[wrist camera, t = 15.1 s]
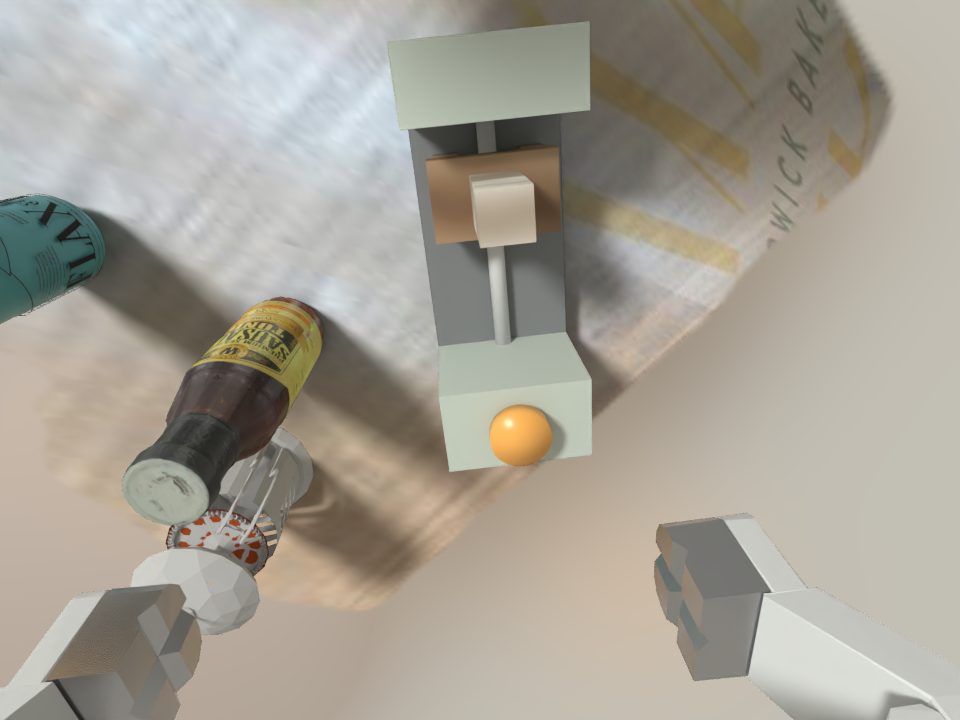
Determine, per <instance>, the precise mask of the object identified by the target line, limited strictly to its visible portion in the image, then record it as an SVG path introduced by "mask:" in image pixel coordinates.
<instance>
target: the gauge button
mask: <svg viewBox="0 0 960 720" xmlns="http://www.w3.org/2000/svg"><path fill="white" fill-rule="evenodd" d="M489 436H490V442H491V448H492V451H493V453H494V454H495V456H496V457H497V458H498V459H499V460H501V461H502V462H504V463H506V464H509V465H513V466H525V465H529V464H532V463H535V462H537V461H538V460H540V459H541V458H542V457H544V456H545V455H546V453H547V452H548V451H549V449H550V447H551V444H552V433H551V429H550V426H549V423H548V420H547V418H546V417H545V415H544V414H543V413H542V412H541V411H540V410H539V409H537V408H535V407H533V406H530V405H523V404H520V405H513V406H509V407H507V408H505V409H503V410H501V411H500V412H499V413H498V414H497V415H496V416H495V417H494V418H493V420H492V422H491V424H490V428H489Z"/></svg>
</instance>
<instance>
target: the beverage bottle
mask: <svg viewBox="0 0 960 720" xmlns="http://www.w3.org/2000/svg"><path fill="white" fill-rule="evenodd" d="M27 195H28V194H27ZM42 195H44V194H42ZM48 196H49V195H47V196H40V195H39V196H37V195H35V196H24V195H22V196H20V197H18V198H16V197H15V198H13V199H11V198H10V199H9V200H8V199H5V201H4V200H1V202H0V324H1V323H3V322H5V321H7V320H9V319H11V318H13V317H16V316H25V315H21V314H23V313H25V312H26V313H29V312H27V311H29V310H31V309H32V310H35V309H33V308H35V307H37V306H39V305H41V304H43V303H46V302H47V301H49V300H52V299H53V298H56V297H57V296H59V295H60V294H62V293H64V294H65V293H67V291H68V290H70V289H73V288H74V287H76V286H78V285H80V284H82V283H84V282H86V281H88V280H89V279H91V278H93V276H95V275H96V273H97V272H98V271H99V269H100V268H102V264H103V261H104V258H105V244H104V240H103V237H102V235H101V233H100V231H99V229H98V227H97V226H96V224H95V223H94V222H93V220H92V219H91V218H90V217H89V216H88V215H87V214H86V213H85V212H83V211H82V210H81V209H79V208H78V207H76V206H75V205H73V204H71V203H69V202H67V201H64V200H62V199H58V198H56V197H52V196H51V197H48ZM24 197H26V198H24ZM20 198H22V199H20ZM16 199H18V200H16ZM12 200H13V201H12ZM8 201H9V202H8ZM4 202H5V203H4ZM100 270H101V269H100ZM99 272H100V271H99ZM97 275H98V274H97ZM88 283H89V282H88ZM86 284H87V283H86ZM84 285H85V284H84ZM82 286H83V285H82ZM80 287H81V286H80ZM78 288H79V287H78ZM75 290H76V289H75ZM71 291H72V290H71ZM73 291H74V289H73ZM68 293H69V292H68ZM64 294H62V295H63V296H64ZM62 295H61V296H62ZM65 295H66V294H65ZM61 296H60V297H61ZM60 297H59V298H60ZM56 299H57V298H56ZM53 301H54V300H53ZM49 303H51V302H49ZM49 303H47V304H49ZM45 305H46V304H45ZM43 306H44V304H43ZM43 306H42V305H41V307H43ZM39 308H40V307H39ZM37 309H38V308H37ZM32 310H31V311H32Z"/></svg>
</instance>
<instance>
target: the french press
mask: <svg viewBox="0 0 960 720" xmlns="http://www.w3.org/2000/svg"><path fill="white" fill-rule="evenodd" d="M312 479H313V468H312V460H311V457H310V456H309V454H308V452H307V451H306V449H305V448H304V446H303V445H302V443H301V442H300V441H299V440H297V439H296V438H295V437H293V436H292V435H291V434H289V433H288V432H286V431H285V430H284V429H282V428H277V430H276V433H275V434H274V435H273V437H272V439H271V440H270V441H269V443H268V444H267V445H266V446H265V447H264V448H262V449H261V450H260V451H259V452H258V453H256V454H255V455H253V456H250V457H248V458H246V459H243V460H241V461H238V462H235V464H234V465H233V466H232V467H231V468H230V469H229V470H228V471H227V473H226V474H225V476H224V477H223V479H222V481H221V489H220V493H219V495H218V497H217V498H216V500H215V501H214V503H213V504H212V505H211V506H210V508H209V509H208V511H207V512H206V513H205V514H204V515H203V516H202V517H201V518H200V519H198V520H197V521H195V522H193V523H190V524H186V525H171V527H170V528H169V532H168V536H167V540H166V545H167V548H168V550H167V551H163V552H161V553H158V554H155V555H152V556H149V557H148V558H147V559H146V560H145V561H144V562H143V563H142V564H141V565H139V567H137V568H136V569H135V570H134V574H133V578H132V582H131V585H130V587H139V586H150V585H160V584H178V585H180V587H181V589H182V591H183V593H184V594H185V596H186V598H187V599H186V601H185V603H184V605H183V607H182V609H183V610H184V611H186V612H188V613H189V614H191V615H193V616H194V617H195V618H196V620H197V622H198V625H199V627H200V632H201V635H219V634H222V633H225V632H228V631H231V630H234V629H237V628H240V627H241V626H242V625H243V624H244V623H246V622H247V621H248V620H249V619H251V618H252V617H253V616H254V614H255V611H256V609H257V606H258V604H259V602H260V599H259V593H258V588H257V583H256V580H255V578H254V577H253V576H254V575H256V574H257V573H258V572H259V571H260V570H261V569H262V568H264V566H265V563H266V561H267V559H268V558H270V557H271V556H272V555H273V553H274V551H275V548H276V546H277V544H278V541H279V539H280V536H281V533H282V531H281V527H282V530H283V527H284V524H285V521H286V520H285V517H286V519H287V517H288V514H289V510H290V509H289V507H290V508H291V505H292V504H294V503H295V502H296V501H298V500H299V499H300V498H301V497H302V496H303V495H304V494H305V493H306V492H307V491H308V489H309V486H310V484H311V481H312ZM286 508H287V512H286ZM282 509H283V513H282V514H281V512H280V510H282ZM261 513H267V514H268V517H262V518H258V517H259V516H260V514H261ZM255 514H256V515H255ZM254 515H255V517H254ZM253 518H254V519H253ZM281 518H283V522H282V520H281ZM269 521H273V522H274V525H269V526H264V527H257V525H256V523H263V522H269ZM272 530H277V534H273V535H269V536H264V535H263V533H262V532H266V531H272ZM274 539H277V544H274V545H271V546H268V545H267V542H268V541H271V540H274Z"/></svg>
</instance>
